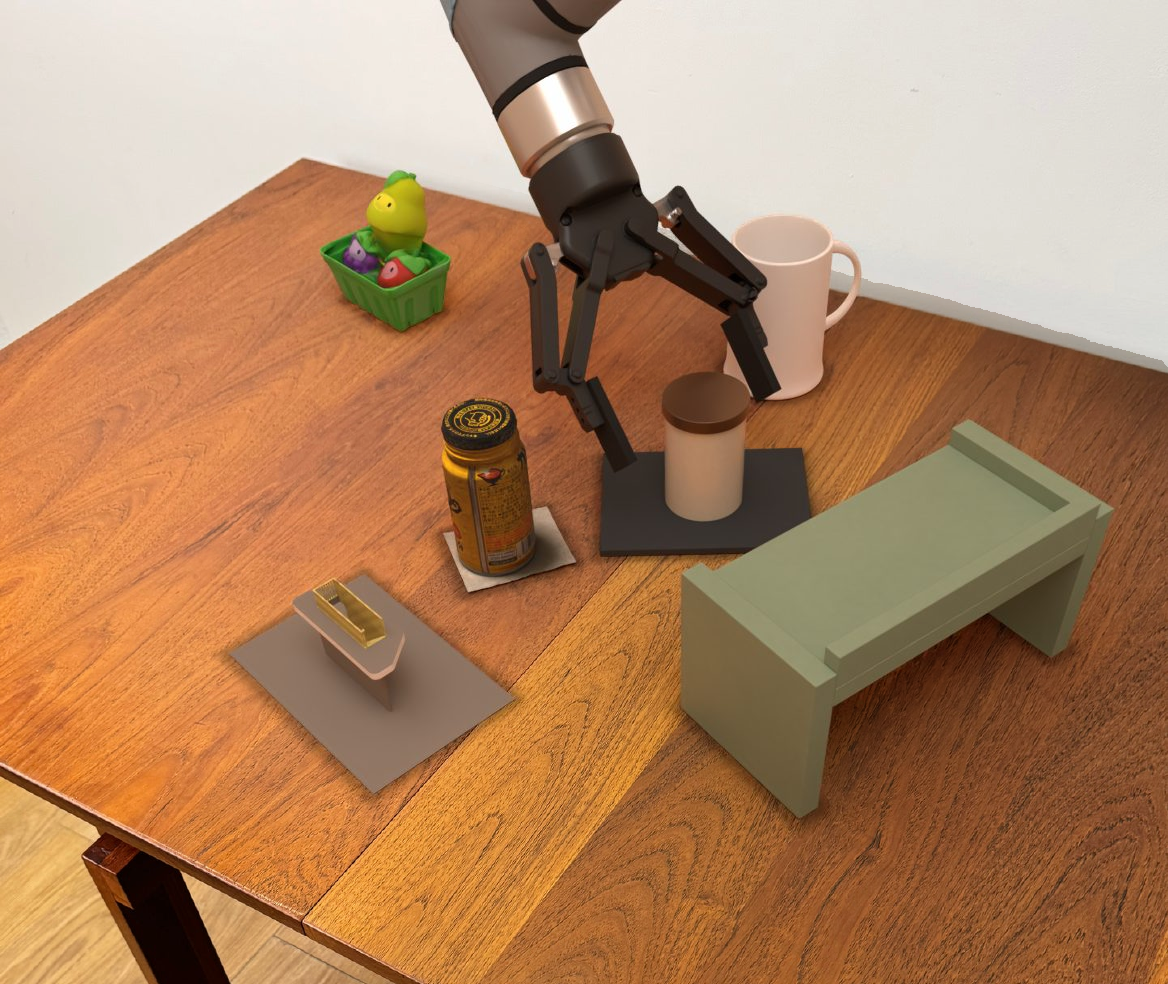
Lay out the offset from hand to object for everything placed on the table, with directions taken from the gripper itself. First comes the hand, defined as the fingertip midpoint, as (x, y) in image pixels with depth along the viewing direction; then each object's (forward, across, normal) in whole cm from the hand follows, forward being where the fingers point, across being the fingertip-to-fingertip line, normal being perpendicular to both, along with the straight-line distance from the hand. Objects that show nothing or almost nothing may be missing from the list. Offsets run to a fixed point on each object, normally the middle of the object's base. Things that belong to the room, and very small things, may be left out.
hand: (699, 431), depth 94 cm
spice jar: (+4, 0, -4) cm, 6 cm away
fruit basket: (-24, +4, -33) cm, 41 cm away
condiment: (+2, +15, -8) cm, 17 cm away
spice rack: (+20, +3, +12) cm, 24 cm away
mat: (+5, 0, -4) cm, 6 cm away
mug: (-2, -17, -11) cm, 20 cm away
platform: (+5, +30, -4) cm, 31 cm away
